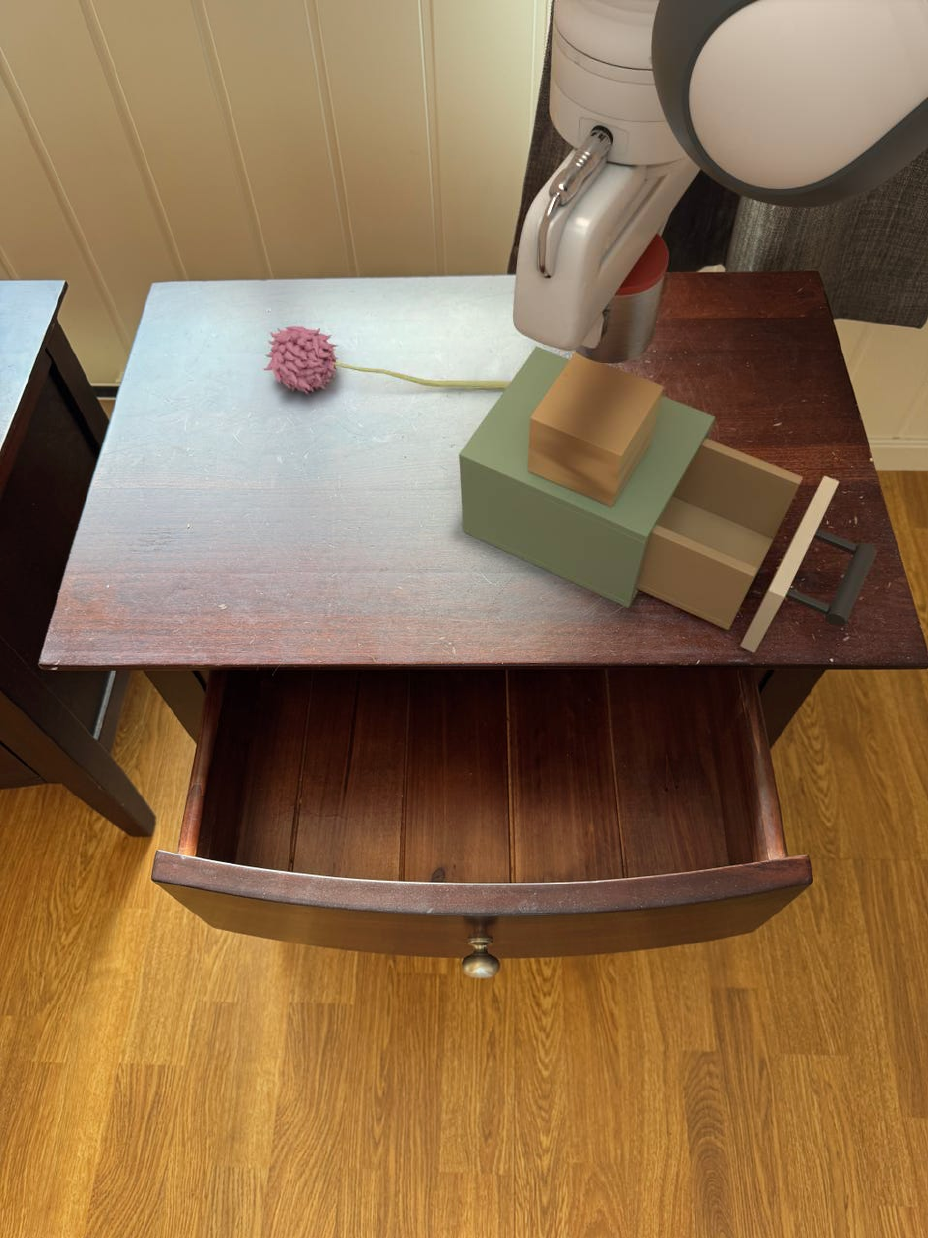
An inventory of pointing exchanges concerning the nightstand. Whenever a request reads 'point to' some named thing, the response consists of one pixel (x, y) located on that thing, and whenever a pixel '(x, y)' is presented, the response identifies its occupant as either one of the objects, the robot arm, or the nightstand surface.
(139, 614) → the nightstand surface
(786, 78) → the robot arm
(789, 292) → the nightstand surface
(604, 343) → the tin
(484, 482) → the cabinet
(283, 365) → the artificial flower
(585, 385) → the riser
